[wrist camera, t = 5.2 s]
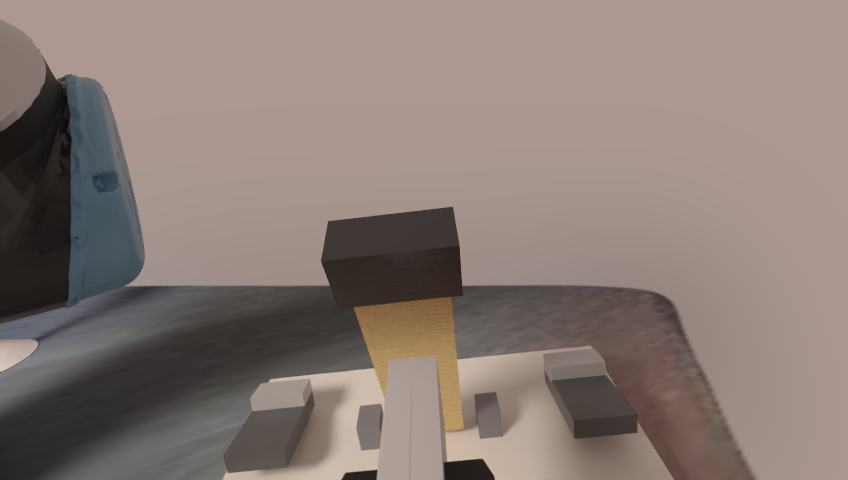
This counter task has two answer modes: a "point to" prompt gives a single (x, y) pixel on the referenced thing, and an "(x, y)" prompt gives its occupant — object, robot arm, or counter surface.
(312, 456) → the switch panel
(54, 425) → the counter surface
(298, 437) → the block
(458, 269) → the brass lever
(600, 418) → the block
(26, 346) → the champagne flute
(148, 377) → the counter surface
